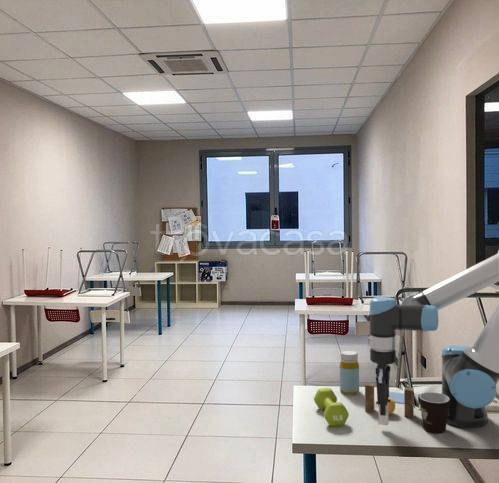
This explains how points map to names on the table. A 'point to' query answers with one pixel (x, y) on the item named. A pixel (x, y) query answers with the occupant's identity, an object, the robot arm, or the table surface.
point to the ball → (390, 406)
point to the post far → (369, 397)
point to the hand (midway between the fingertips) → (383, 423)
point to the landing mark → (397, 397)
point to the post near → (409, 401)
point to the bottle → (349, 372)
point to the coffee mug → (434, 411)
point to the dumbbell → (331, 407)
